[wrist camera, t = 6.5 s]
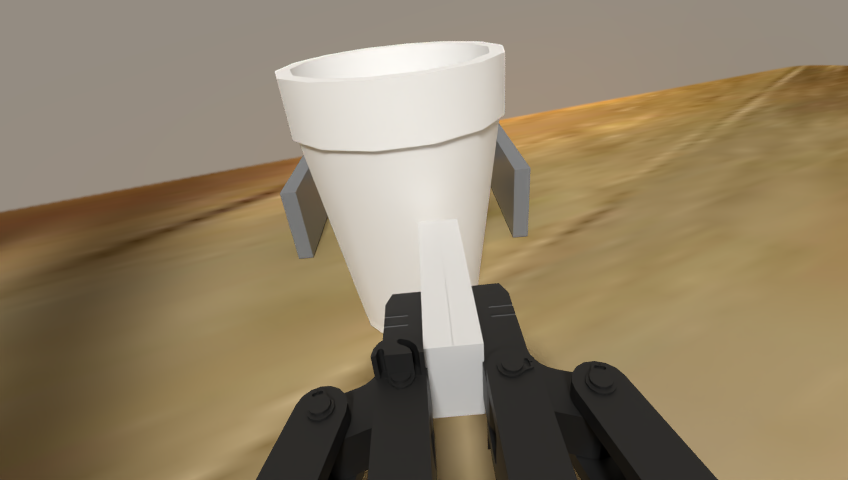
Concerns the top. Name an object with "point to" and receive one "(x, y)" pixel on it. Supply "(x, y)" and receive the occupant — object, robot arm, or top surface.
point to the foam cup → (398, 151)
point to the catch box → (505, 183)
